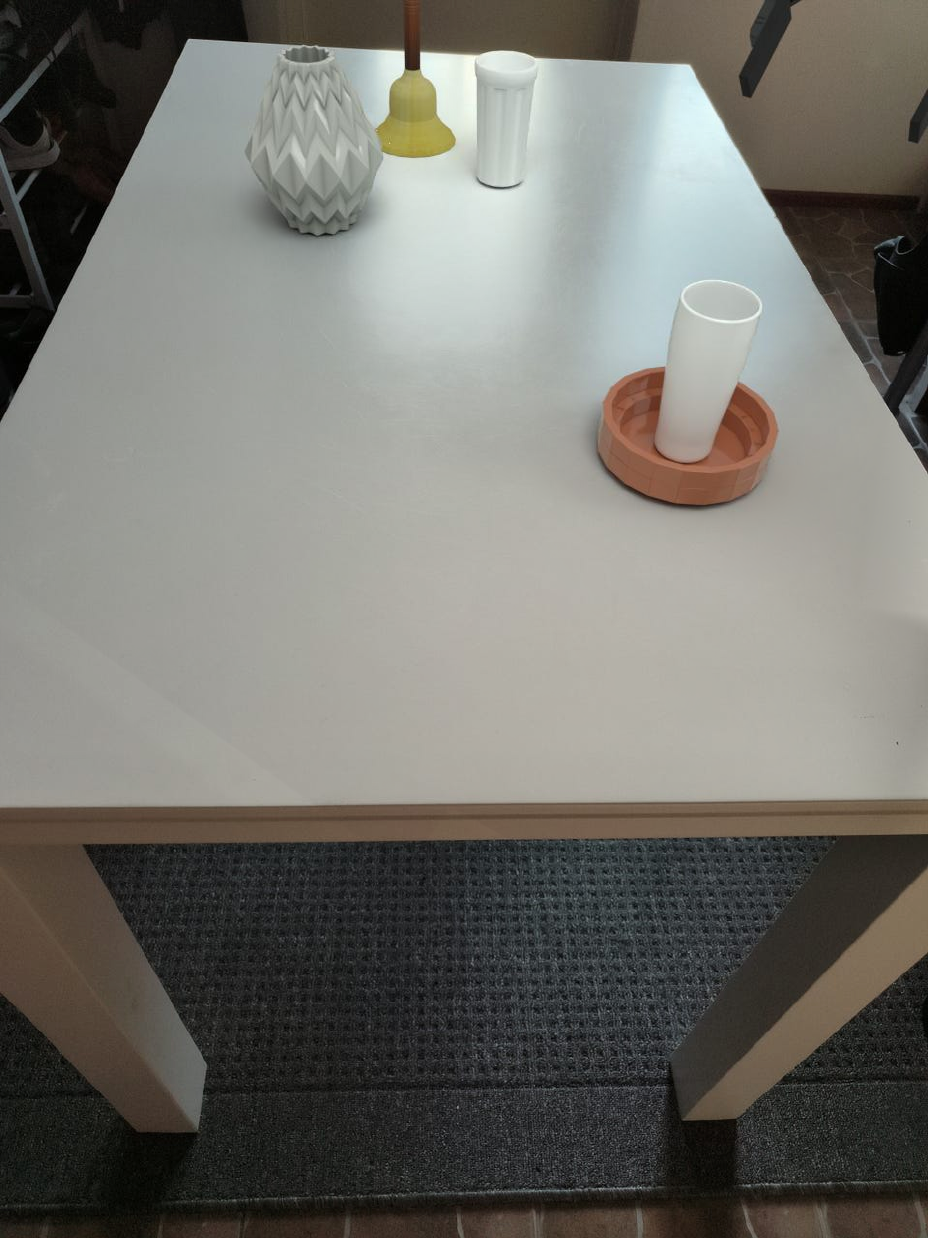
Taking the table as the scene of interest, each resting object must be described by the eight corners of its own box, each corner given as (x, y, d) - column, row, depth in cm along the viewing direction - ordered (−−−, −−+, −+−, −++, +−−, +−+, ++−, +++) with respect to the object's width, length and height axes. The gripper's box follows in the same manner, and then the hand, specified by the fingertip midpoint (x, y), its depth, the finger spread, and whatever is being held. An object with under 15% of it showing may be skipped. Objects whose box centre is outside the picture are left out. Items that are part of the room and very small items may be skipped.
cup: (506, 198, 117) (514, 77, 106) (458, 180, 120) (461, 61, 109) (541, 178, 121) (552, 60, 111) (493, 161, 124) (499, 45, 114)
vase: (228, 225, 110) (199, 56, 96) (317, 180, 119) (302, 20, 105) (327, 266, 104) (312, 93, 90) (413, 216, 113) (411, 51, 99)
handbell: (353, 135, 129) (340, -80, 110) (420, 115, 134) (418, -93, 115) (405, 164, 123) (401, -57, 104) (473, 142, 128) (481, -72, 109)
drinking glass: (701, 480, 80) (747, 331, 69) (633, 454, 82) (666, 305, 71) (728, 441, 84) (775, 294, 72) (662, 416, 86) (698, 269, 75)
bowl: (775, 429, 87) (790, 390, 83) (747, 531, 77) (761, 491, 74) (621, 389, 90) (628, 350, 87) (575, 482, 80) (582, 443, 77)
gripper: (1145, -106, 63) (985, 179, 67) (815, -156, 73) (689, 96, 76) (1180, -198, 57) (1000, 124, 60) (810, -241, 66) (672, 40, 69)
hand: (825, 109), depth 68 cm, fingers open, 13 cm apart
